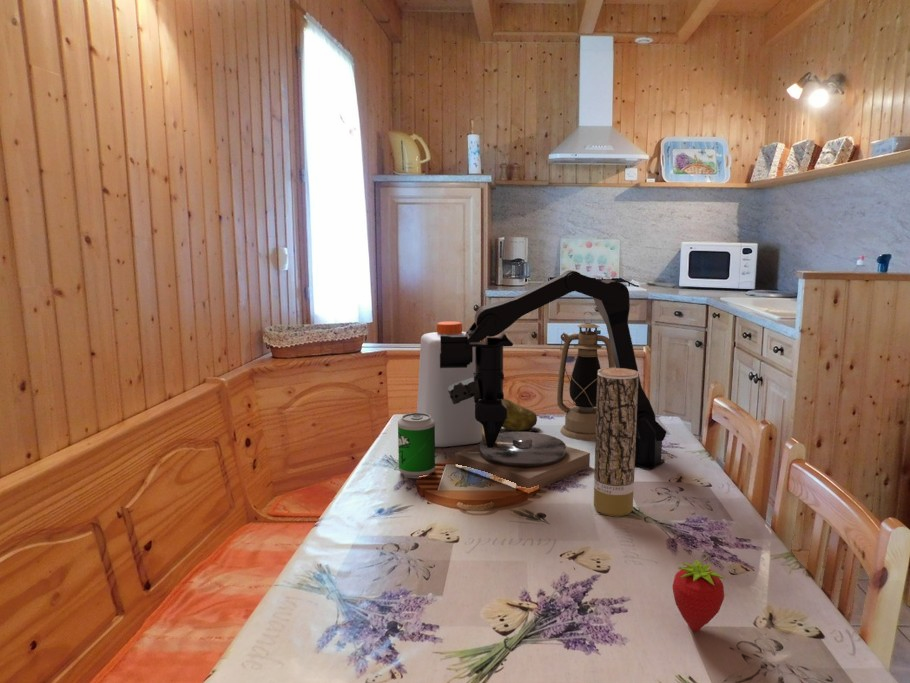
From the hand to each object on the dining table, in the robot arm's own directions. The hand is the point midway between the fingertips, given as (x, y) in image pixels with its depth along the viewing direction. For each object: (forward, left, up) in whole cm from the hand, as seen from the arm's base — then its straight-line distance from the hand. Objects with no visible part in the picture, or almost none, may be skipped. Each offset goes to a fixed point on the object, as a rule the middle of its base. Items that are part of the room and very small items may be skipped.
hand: (489, 440), depth 132 cm
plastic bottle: (+20, -8, -6) cm, 22 cm away
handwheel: (-5, -5, -3) cm, 8 cm away
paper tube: (-30, 0, -6) cm, 31 cm away
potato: (+14, -23, -6) cm, 28 cm away
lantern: (-1, -34, -6) cm, 34 cm away
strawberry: (-56, +23, -6) cm, 61 cm away
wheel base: (-5, -5, -6) cm, 9 cm away
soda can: (+8, +13, -6) cm, 17 cm away
